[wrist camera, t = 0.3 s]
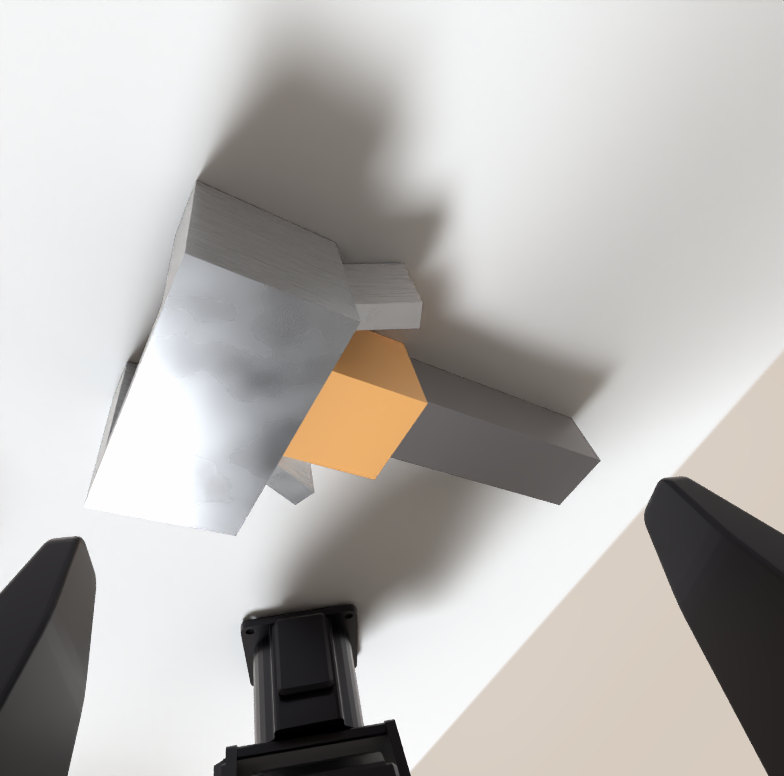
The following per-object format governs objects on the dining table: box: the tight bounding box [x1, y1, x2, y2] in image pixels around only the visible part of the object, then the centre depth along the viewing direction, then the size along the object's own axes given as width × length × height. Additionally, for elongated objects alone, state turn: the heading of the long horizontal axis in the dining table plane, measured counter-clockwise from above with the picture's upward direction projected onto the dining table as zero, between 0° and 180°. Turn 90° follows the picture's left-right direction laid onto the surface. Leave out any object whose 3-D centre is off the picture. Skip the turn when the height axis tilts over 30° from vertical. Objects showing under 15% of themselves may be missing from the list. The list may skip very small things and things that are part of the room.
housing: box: [84, 180, 423, 536], centre depth 21 cm, size 8×10×6 cm
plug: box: [283, 330, 601, 505], centre depth 25 cm, size 14×4×4 cm, turn 60°
